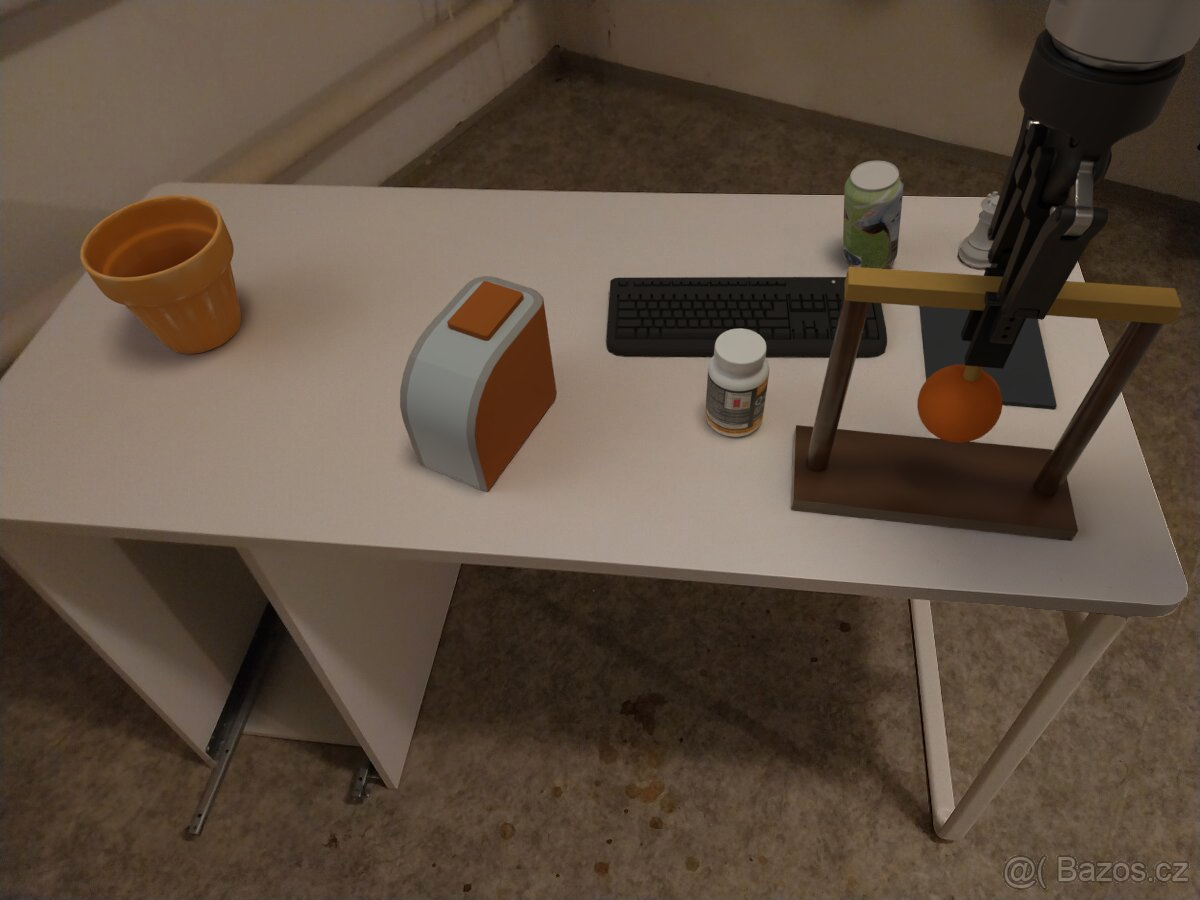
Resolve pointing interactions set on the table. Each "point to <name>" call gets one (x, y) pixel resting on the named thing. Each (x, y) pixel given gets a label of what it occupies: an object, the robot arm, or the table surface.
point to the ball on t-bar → (967, 393)
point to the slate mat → (1017, 380)
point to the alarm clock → (478, 381)
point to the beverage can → (872, 215)
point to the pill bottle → (737, 383)
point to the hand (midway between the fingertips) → (981, 350)
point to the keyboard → (732, 315)
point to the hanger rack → (948, 456)
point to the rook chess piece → (980, 236)
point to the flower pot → (168, 269)
